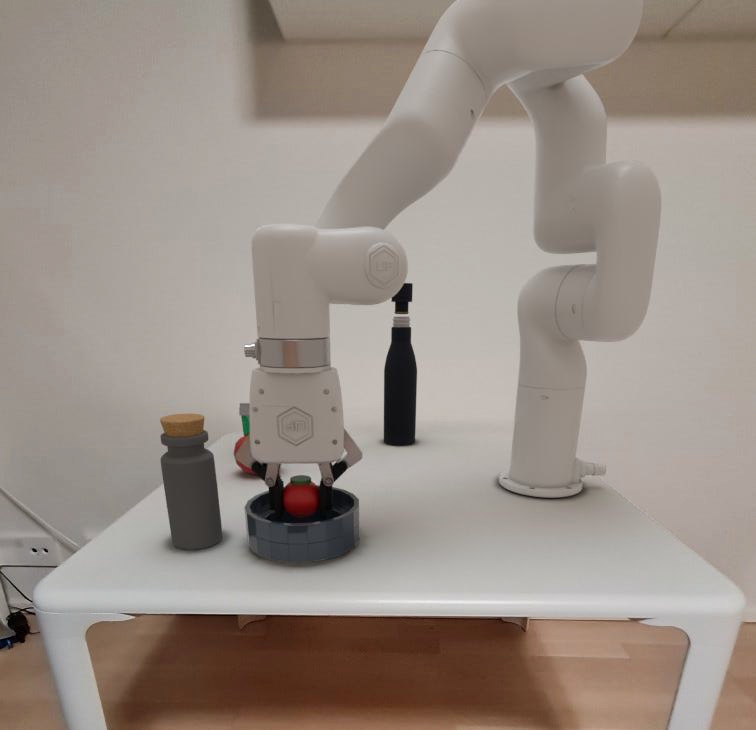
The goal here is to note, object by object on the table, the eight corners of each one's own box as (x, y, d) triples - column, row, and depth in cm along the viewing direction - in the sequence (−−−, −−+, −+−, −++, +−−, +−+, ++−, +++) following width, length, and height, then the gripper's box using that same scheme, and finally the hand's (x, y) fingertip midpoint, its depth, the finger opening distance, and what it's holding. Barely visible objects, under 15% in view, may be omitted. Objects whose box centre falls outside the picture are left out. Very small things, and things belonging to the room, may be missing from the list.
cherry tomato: (322, 509, 66) (321, 472, 65) (320, 523, 62) (319, 484, 60) (285, 509, 66) (283, 472, 65) (280, 524, 62) (277, 484, 60)
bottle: (204, 526, 70) (190, 410, 64) (232, 538, 66) (220, 416, 61) (162, 541, 66) (143, 418, 60) (190, 554, 62) (172, 425, 57)
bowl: (359, 520, 72) (358, 484, 70) (359, 566, 59) (359, 524, 58) (258, 521, 71) (255, 485, 70) (238, 568, 59) (234, 525, 57)
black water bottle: (389, 446, 107) (390, 282, 96) (379, 439, 113) (380, 283, 102) (419, 444, 109) (424, 283, 98) (409, 437, 114) (412, 283, 104)
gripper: (205, 358, 54) (222, 528, 60) (375, 359, 54) (374, 527, 61) (222, 352, 61) (236, 504, 67) (373, 352, 61) (372, 503, 68)
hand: (302, 513), depth 64 cm, fingers closed on cherry tomato, 4 cm apart
